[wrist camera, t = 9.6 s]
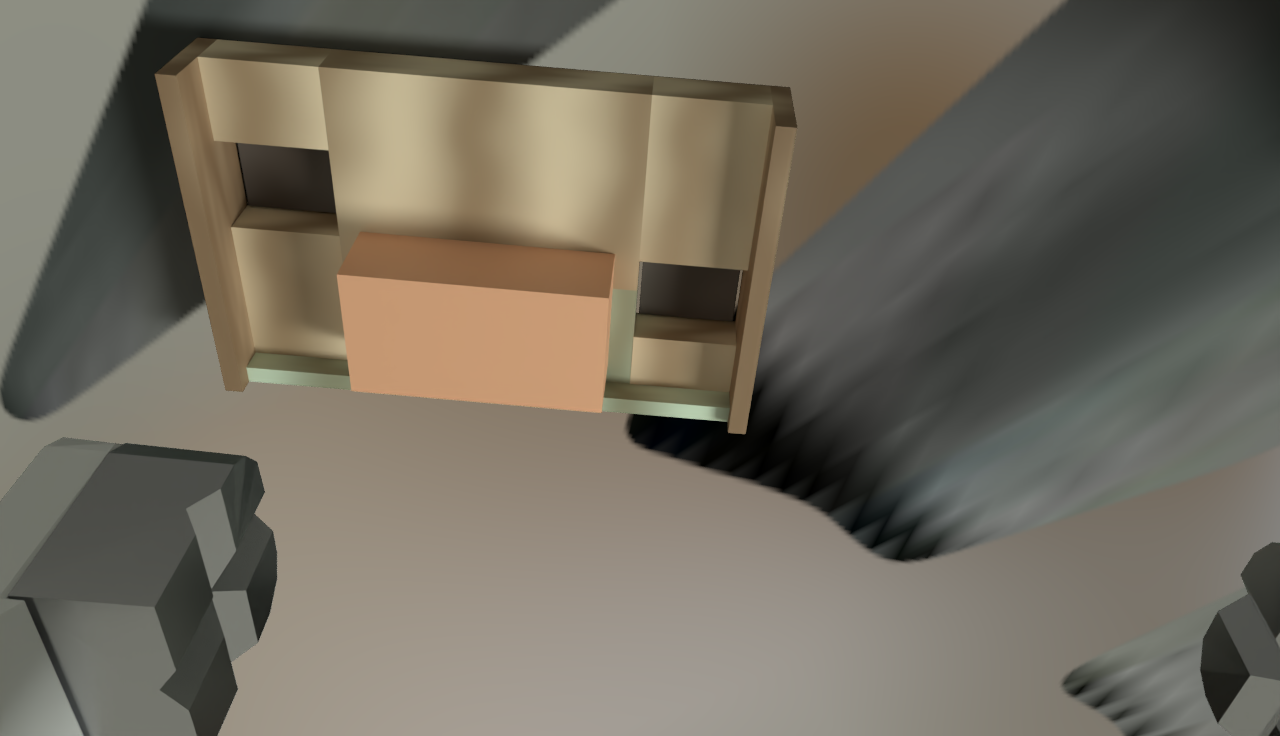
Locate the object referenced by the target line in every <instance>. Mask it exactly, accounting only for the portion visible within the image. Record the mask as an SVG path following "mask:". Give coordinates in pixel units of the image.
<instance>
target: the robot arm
mask: <svg viewBox="0 0 1280 736" xmlns="http://www.w3.org/2000/svg"><path fill="white" fill-rule="evenodd" d="M264 493H265V491H264V487H263V483H262V479H261V475H260V472H259V467H258V463H257V462H256V461H254V460H252V459H250V458H248V457H246V456H241V455H231V454H222V453H213V452H203V451H194V450H184V449H176V448H167V447H157V446H148V445H138V444H129V443H125V444H116V443H107V442H99V441H90V440H81V439H72V438H64V437H63V438H61V439H59V440H57V441H55V442H53V443H51V444H49V445H47V446H45V447H44V448H43V449H42V450H41V451H40V452H39V453H38V455H37V456H36V457H35V458H34V460H33V461H32V462H31V463H30V465H29V466H28V467H27V468H26V470H25V471H24V472H23V474H22V475H21V476H20V477H19V479H18V480H17V481H16V482H15V484H14V485H13V486H12V487H11V488H10V490H9V491H8V492H7V493H6V495H5V496H4V497H3V498H2V500H1V501H0V736H218V733H219V731H220V729H221V726H222V724H223V722H224V720H225V717H226V715H227V713H228V711H229V708H230V706H231V704H232V701H233V699H234V697H235V695H236V692H237V690H238V688H237V684H236V680H235V676H234V672H233V668H232V664H231V662H232V661H234V660H235V659H236V658H238V657H239V656H240V655H242V654H243V653H244V652H246V651H247V650H249V649H250V648H251V647H253V646H254V645H255V644H257V643H258V641H259V639H260V636H261V634H262V631H263V629H264V627H265V624H266V622H267V619H268V617H269V614H270V610H271V606H272V601H273V596H274V591H275V586H276V581H277V550H276V545H275V539H274V534H273V531H272V530H271V529H270V528H269V527H268V526H267V525H266V524H265V523H264V522H263V521H262V520H260V519H259V518H258V517H257V516H256V515H255V514H254V513H255V511H256V509H257V507H258V505H259V503H260V501H261V499H262V497H263V495H264ZM1241 577H1242V580H1243V583H1244V585H1245V588H1246V591H1247V593H1248V594H1247V595H1246V596H1244V597H1242V598H1240V599H1239V600H1237V601H1235V602H1233V603H1231V604H1230V605H1228V606H1226V607H1224V608H1223V609H1221V610H1219V611H1218V612H1217V614H1216V615H1215V617H1214V619H1213V621H1212V623H1211V625H1210V626H1209V628H1208V630H1207V632H1206V634H1205V636H1204V638H1203V644H1202V655H1201V667H1200V672H1201V676H1202V681H1203V686H1204V691H1205V696H1206V698H1207V701H1208V703H1209V705H1210V707H1211V710H1212V712H1213V714H1214V717H1215V719H1216V721H1217V723H1218V724H1219V725H1220V726H1221V727H1222V728H1223V729H1224V730H1225V731H1227V732H1228V733H1229V734H1230V735H1231V736H1280V543H1273V542H1272V543H1270V544H1269V545H1267V546H1265V547H1264V548H1262V549H1260V550H1259V551H1257V552H1255V553H1254V554H1253V556H1252V558H1251V559H1250V561H1249V562H1248V564H1247V565H1246V567H1245V568H1244V570H1243V571H1242V573H1241Z"/></svg>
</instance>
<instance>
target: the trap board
mask: <svg viewBox="0 0 1280 736" xmlns="http://www.w3.org/2000/svg"><path fill="white" fill-rule="evenodd" d="M155 78H156V82H157V87H158V91H159V95H160V100H161V104H162V109H163V113H164V118H165V122H166V127H167V131H168V136H169V140H170V144H171V149H172V153H173V158H174V162H175V167H176V171H177V176H178V180H179V185H180V189H181V194H182V198H183V202H184V207H185V211H186V216H187V220H188V225H189V229H190V234H191V238H192V243H193V247H194V251H195V256H196V260H197V265H198V269H199V274H200V278H201V283H202V287H203V292H204V296H205V301H206V305H207V309H208V314H209V318H210V323H211V327H212V332H213V336H214V341H215V345H216V350H217V354H218V359H219V362H220V367H221V372H222V376H223V381H224V385H225V389H226V390H227V391H239V392H243V391H244V389H245V387H246V386H247V384H248V382H249V381H253V382H264V383H276V384H288V385H300V386H311V387H323V388H335V389H348V390H351V384H350V376H349V368H348V360H347V352H346V345H345V337H344V329H343V321H342V313H341V305H340V297H339V289H338V281H337V273H338V271H339V269H340V267H341V266H342V264H343V262H344V260H345V258H346V256H347V255H348V253H349V251H350V249H351V247H352V245H353V244H354V242H355V240H356V238H357V236H358V235H359V233H360V232H370V233H382V234H393V235H404V236H416V237H427V238H438V239H450V240H461V241H472V242H484V243H495V244H506V245H518V246H529V247H541V248H552V249H563V250H575V251H586V252H597V253H609V254H615V262H614V277H613V292H612V308H611V323H610V338H609V354H608V367H607V375H606V383H605V391H604V398H603V406H602V411H608V412H620V413H632V414H644V415H656V416H668V417H679V418H691V419H703V420H715V421H727V422H728V433H738V434H746V428H747V422H748V416H749V410H750V404H751V398H752V392H753V386H754V380H755V374H756V369H757V363H758V357H759V351H760V345H761V339H762V333H763V327H764V321H765V315H766V310H767V304H768V298H769V292H770V286H771V280H772V274H773V268H774V262H775V256H776V250H777V244H778V238H779V233H780V227H781V221H782V215H783V209H784V203H785V197H786V191H787V185H788V180H789V174H790V168H791V162H792V156H793V150H794V144H795V138H796V132H797V124H796V118H795V113H794V107H793V101H792V96H791V90H790V87H778V86H766V85H755V84H743V83H731V82H719V81H707V80H696V79H684V78H672V77H659V76H647V75H636V74H624V73H611V72H600V71H588V70H576V69H565V68H552V67H540V66H529V65H517V64H505V63H493V62H481V61H469V60H457V59H446V58H434V57H422V56H410V55H398V54H386V53H374V52H362V51H350V50H338V49H326V48H315V47H303V46H291V45H279V44H267V43H255V42H243V41H231V40H219V39H207V38H196V39H195V40H194V41H193V42H192V43H191V44H189V45H188V46H187V47H186V48H185V49H183V50H182V51H181V52H180V53H179V54H178V55H176V56H175V57H174V58H173V59H172V60H170V61H169V62H168V63H167V64H166V65H165V66H163V67H162V68H161V69H160V70H159V71H157V72H156V73H155ZM236 143H238V149H239V154H240V160H241V165H242V171H243V176H244V182H245V187H246V193H247V198H248V204H249V205H247V200H246V194H245V189H244V183H243V178H242V172H241V167H240V161H239V156H238V150H237V145H236ZM640 262H643V269H642V282H641V295H640V307H639V313H636V304H637V291H638V290H637V289H638V278H639V266H640ZM740 270H743V273H742V280H741V286H740V293H739V300H738V306H737V313H736V320H735V321H733V315H734V308H735V301H736V294H737V287H738V281H739V274H740Z"/></svg>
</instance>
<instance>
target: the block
mask: <svg viewBox="0 0 1280 736" xmlns="http://www.w3.org/2000/svg"><path fill="white" fill-rule="evenodd" d="M614 262H615V254H609V253H597V252H586V251H575V250H563V249H552V248H541V247H529V246H518V245H506V244H495V243H484V242H472V241H461V240H450V239H438V238H427V237H416V236H404V235H393V234H382V233H370V232H360V233H359V235H358V236H357V238H356V240H355V242H354V244H353V245H352V247H351V249H350V251H349V253H348V255H347V256H346V258H345V260H344V262H343V264H342V266H341V267H340V269H339V271H338V273H337V281H338V289H339V297H340V305H341V313H342V321H343V329H344V337H345V345H346V352H347V360H348V368H349V376H350V384H351V391H357V392H368V393H380V394H391V395H403V396H415V397H425V398H438V399H449V400H460V401H471V402H482V403H494V404H505V405H516V406H529V407H540V408H551V409H563V410H574V411H586V412H596V413H602V406H603V398H604V391H605V383H606V375H607V367H608V354H609V338H610V323H611V308H612V292H613V277H614Z"/></svg>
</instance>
